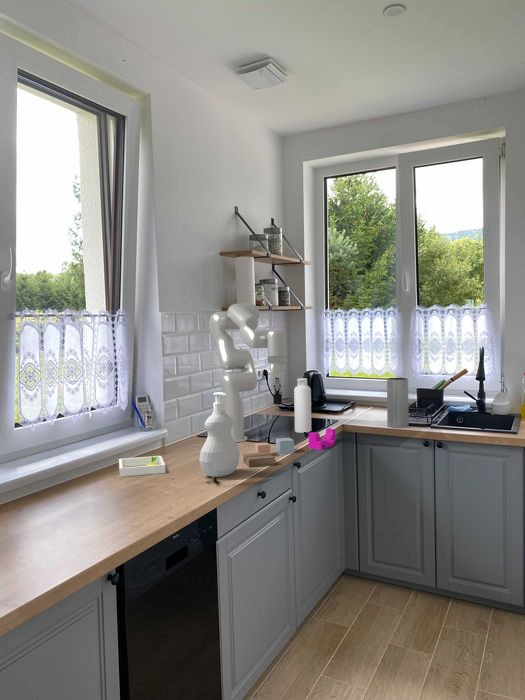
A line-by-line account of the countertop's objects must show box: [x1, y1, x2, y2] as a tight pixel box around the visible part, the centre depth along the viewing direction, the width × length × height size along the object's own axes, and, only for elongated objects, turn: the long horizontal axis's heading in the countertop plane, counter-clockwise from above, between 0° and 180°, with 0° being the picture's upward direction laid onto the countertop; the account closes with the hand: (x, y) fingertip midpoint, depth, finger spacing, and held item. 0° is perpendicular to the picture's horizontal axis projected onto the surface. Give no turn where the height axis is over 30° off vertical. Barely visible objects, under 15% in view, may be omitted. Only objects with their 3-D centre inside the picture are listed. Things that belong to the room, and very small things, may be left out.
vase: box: [386, 377, 410, 429], centre depth 270 cm, size 10×10×27 cm
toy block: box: [308, 428, 337, 451], centre depth 241 cm, size 15×6×8 cm, turn 139°
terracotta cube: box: [254, 441, 271, 454], centre depth 228 cm, size 5×5×5 cm
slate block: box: [275, 437, 295, 455], centre depth 232 cm, size 6×6×6 cm
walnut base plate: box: [242, 452, 276, 468], centre depth 215 cm, size 10×10×3 cm
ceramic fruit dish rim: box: [118, 455, 166, 478], centre depth 208 cm, size 16×16×3 cm
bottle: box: [293, 377, 312, 434], centre depth 268 cm, size 8×8×28 cm
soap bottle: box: [198, 391, 241, 478], centre depth 199 cm, size 17×12×29 cm
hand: (277, 402), depth 225 cm, fingers open, 9 cm apart
